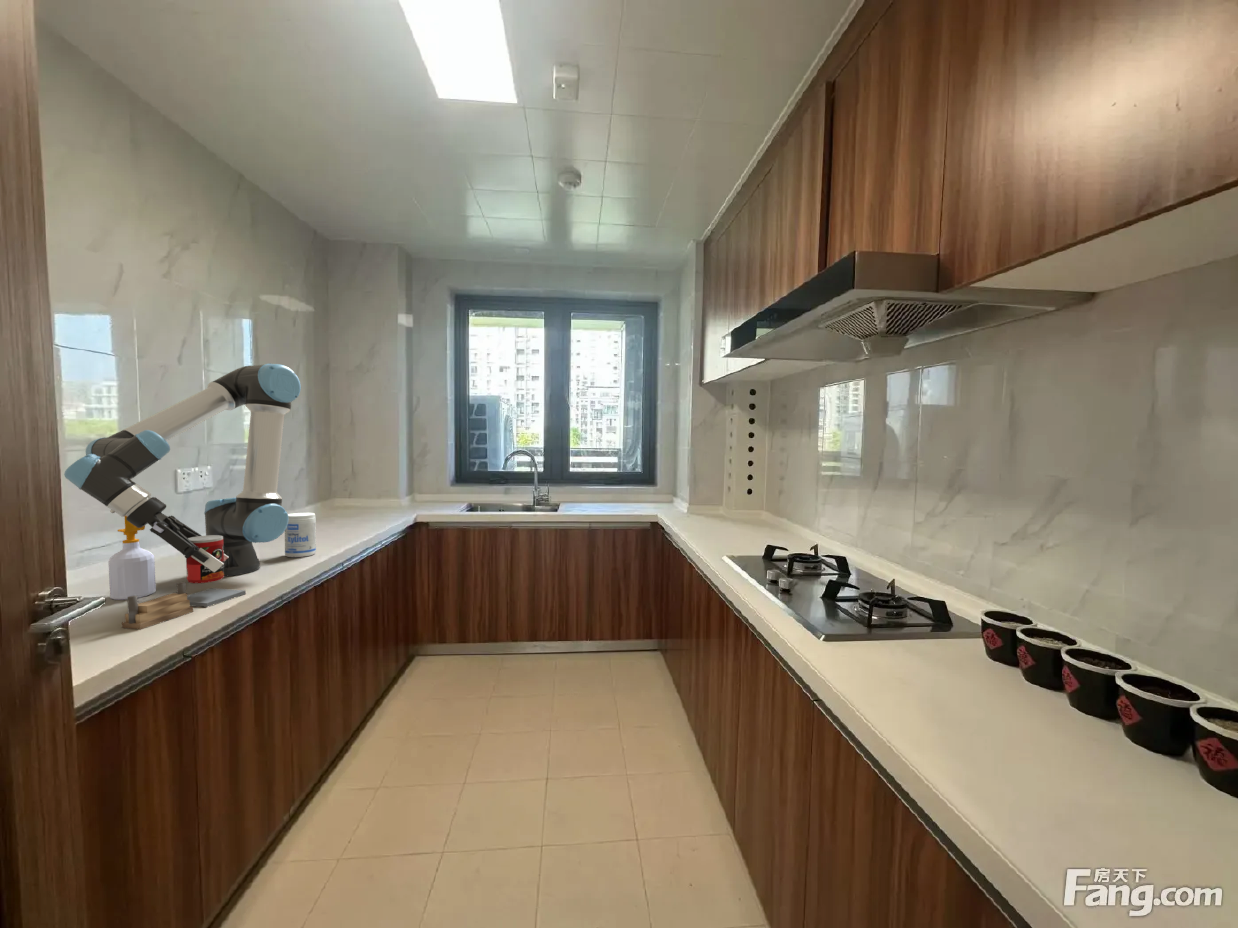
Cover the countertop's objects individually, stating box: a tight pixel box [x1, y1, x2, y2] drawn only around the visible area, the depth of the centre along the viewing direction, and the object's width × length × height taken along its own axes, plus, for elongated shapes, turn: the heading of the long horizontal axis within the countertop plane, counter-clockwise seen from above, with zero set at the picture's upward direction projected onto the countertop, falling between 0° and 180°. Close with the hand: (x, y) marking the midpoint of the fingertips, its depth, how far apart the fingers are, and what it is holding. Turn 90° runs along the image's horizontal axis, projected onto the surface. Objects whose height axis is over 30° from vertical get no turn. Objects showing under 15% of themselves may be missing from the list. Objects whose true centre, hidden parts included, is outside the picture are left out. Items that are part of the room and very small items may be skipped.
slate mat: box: [187, 587, 247, 608], centre depth 138 cm, size 11×11×1 cm
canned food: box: [185, 534, 225, 584], centre depth 137 cm, size 8×8×11 cm
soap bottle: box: [107, 516, 157, 601], centre depth 141 cm, size 9×9×25 cm
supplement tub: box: [284, 512, 317, 558], centre depth 189 cm, size 10×10×15 cm
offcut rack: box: [121, 581, 194, 630], centre depth 123 cm, size 12×5×7 cm, turn 169°
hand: (221, 564), depth 139 cm, fingers closed on canned food, 8 cm apart
